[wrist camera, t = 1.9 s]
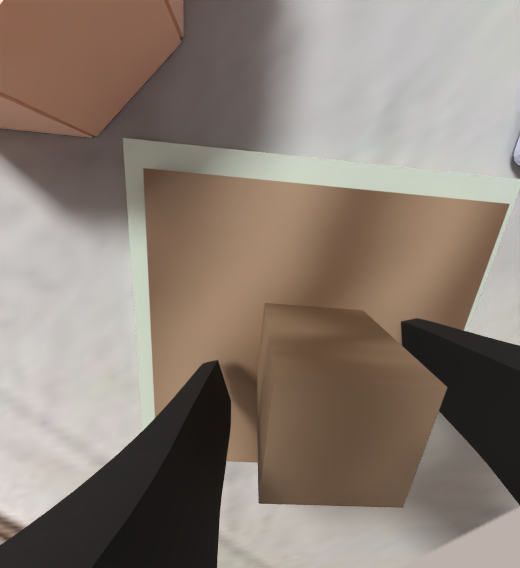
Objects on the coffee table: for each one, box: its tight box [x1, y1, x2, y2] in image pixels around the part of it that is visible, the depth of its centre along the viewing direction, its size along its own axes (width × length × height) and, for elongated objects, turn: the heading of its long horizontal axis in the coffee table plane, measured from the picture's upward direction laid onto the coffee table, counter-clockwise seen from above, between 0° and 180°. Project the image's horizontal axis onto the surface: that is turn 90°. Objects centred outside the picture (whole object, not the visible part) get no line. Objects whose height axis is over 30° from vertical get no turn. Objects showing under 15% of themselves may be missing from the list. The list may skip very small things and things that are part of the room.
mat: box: [122, 138, 520, 431], centre depth 11 cm, size 15×15×1 cm
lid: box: [143, 168, 510, 508], centre depth 9 cm, size 13×13×5 cm
